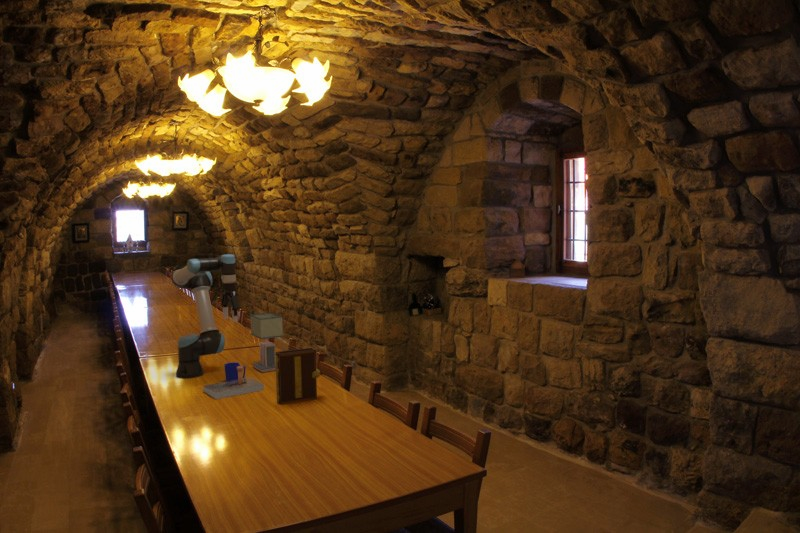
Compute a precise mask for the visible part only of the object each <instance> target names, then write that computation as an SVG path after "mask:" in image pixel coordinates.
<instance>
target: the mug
mask: <svg viewBox="0 0 800 533" xmlns="http://www.w3.org/2000/svg"><path fill="white" fill-rule="evenodd" d="M237 366H241V365H240V362H236V361H235V362H227V363H225V364H224V374H225V382H227V381H232V380H238V370H237ZM242 366H243V378H245V376H246V369H247V368H246V366H245V365H242Z"/></svg>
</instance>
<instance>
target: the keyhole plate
mask: <svg viewBox="0 0 800 533" xmlns="http://www.w3.org/2000/svg"><path fill="white" fill-rule="evenodd" d="M264 390H265V389H264V383H263V382H261V381H259V380H257V379H255V378H252V377H250V376H249V377H244V378H243V384H239V385H238V380H232V381H222V382H217V383H210V384H206V385H203V392H204V393H205V394H206V395H208V396H210V398H213V399H215V400H218V399H219V400H220V399H224V398H230V397H235V396H239V395H245V394H249V393H254V392H261V391H264Z"/></svg>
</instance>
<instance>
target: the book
mask: <svg viewBox="0 0 800 533" xmlns="http://www.w3.org/2000/svg"><path fill="white" fill-rule="evenodd" d="M316 352H317V350H316V349H315V348H313V347H305V348H297V349H289V350H281V351H280V350H279V351H275V361H276V370H275V380H276V384H275V385H276V390H275V391H276V403H277V404H278V405H288V404H294V403H295V404H296V403H301V402H307V401H312V400H313V401H314V400H317V399H318V390H317V388H318V385H317V383H318V382H317V379H318V378H319V377H321V371H320V369H318V368H317V355H316Z"/></svg>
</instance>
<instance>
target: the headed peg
mask: <svg viewBox="0 0 800 533" xmlns="http://www.w3.org/2000/svg"><path fill="white" fill-rule="evenodd" d="M243 366H244V365H240V366H237V370H238V385H239V384H243V374H244V367H243Z"/></svg>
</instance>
